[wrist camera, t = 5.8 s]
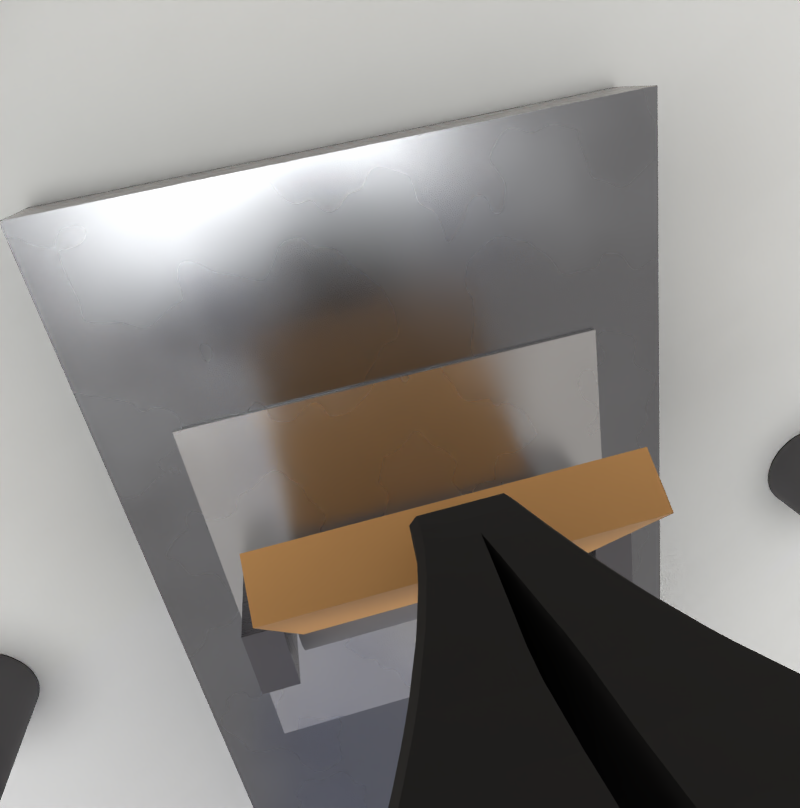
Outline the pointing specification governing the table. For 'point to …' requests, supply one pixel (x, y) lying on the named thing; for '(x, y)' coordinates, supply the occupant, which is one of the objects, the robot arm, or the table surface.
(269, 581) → the breaker paddle
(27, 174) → the table surface
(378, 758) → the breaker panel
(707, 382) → the table surface
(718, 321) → the table surface
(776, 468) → the post
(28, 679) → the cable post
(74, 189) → the table surface
